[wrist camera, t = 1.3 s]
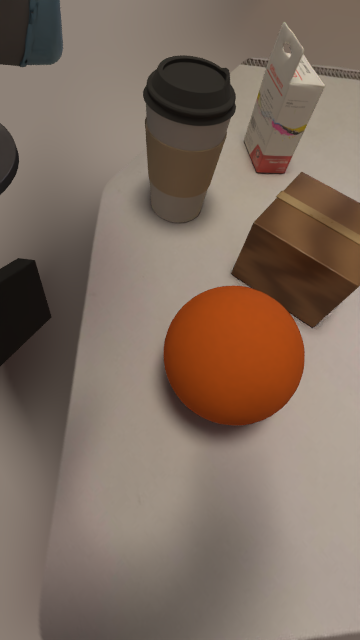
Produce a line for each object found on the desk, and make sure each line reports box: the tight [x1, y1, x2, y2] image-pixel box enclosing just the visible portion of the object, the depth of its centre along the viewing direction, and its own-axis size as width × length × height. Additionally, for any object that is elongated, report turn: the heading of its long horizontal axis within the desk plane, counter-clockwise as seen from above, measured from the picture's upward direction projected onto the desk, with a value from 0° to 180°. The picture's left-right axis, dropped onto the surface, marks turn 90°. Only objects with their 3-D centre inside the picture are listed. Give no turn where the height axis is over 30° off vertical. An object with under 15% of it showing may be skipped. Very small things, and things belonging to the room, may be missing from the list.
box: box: [231, 172, 360, 327], centre depth 33 cm, size 11×11×8 cm
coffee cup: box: [143, 56, 236, 223], centre depth 33 cm, size 9×9×15 cm
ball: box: [164, 286, 304, 425], centre depth 24 cm, size 11×11×11 cm
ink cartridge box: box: [244, 22, 325, 173], centre depth 41 cm, size 9×5×15 cm, turn 8°
